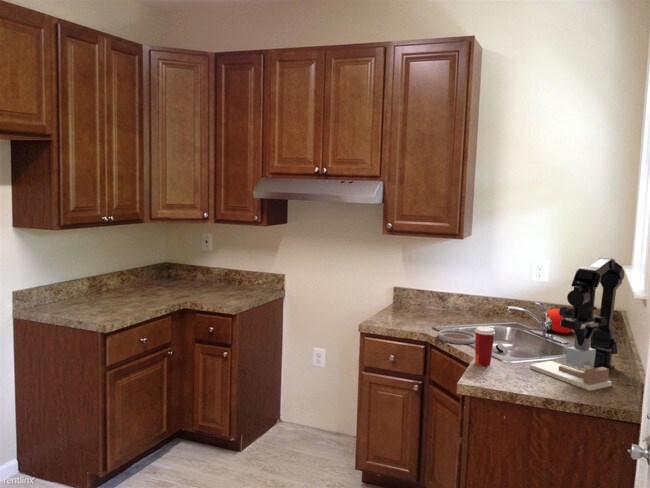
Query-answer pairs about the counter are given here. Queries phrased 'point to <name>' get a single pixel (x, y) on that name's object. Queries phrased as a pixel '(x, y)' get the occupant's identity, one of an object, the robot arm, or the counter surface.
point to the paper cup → (483, 345)
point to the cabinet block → (580, 354)
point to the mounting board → (575, 375)
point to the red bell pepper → (557, 321)
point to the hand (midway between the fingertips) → (581, 345)
